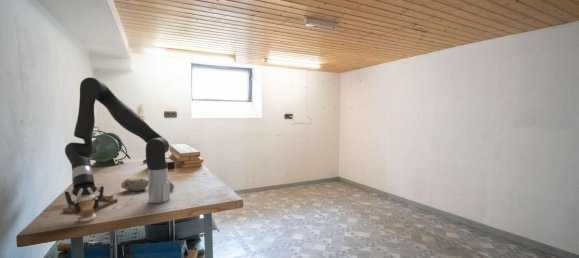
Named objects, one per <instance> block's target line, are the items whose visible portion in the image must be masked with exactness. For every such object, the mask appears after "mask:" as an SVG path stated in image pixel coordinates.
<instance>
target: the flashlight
mask: <svg viewBox="0 0 579 258" xmlns="http://www.w3.org/2000/svg"><path fill="white" fill-rule="evenodd" d="M168 182H170V192H173V191H174V189H175V185H174V184H173V183H172V182H171V181H170V180H169V179H168Z"/></svg>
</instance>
